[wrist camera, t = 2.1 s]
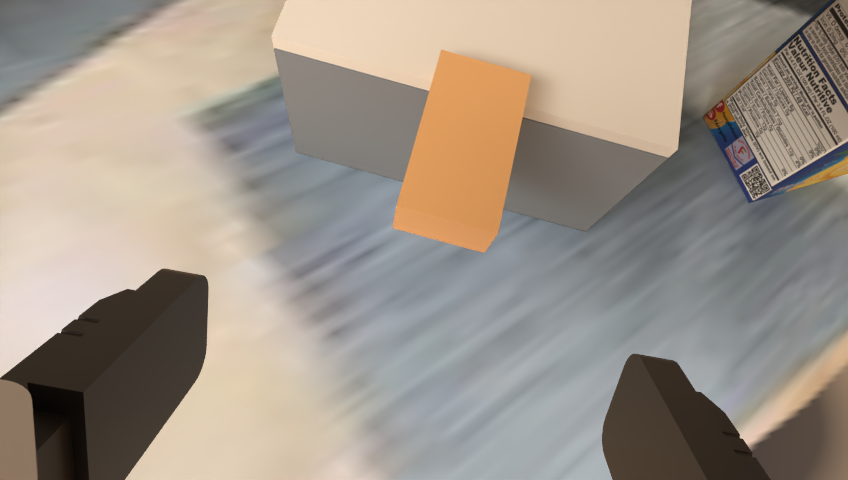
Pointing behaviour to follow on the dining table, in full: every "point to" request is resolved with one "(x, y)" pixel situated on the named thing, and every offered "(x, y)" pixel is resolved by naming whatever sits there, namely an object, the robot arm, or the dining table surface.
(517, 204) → the carton
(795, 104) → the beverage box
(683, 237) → the dining table surface
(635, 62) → the lid flap
